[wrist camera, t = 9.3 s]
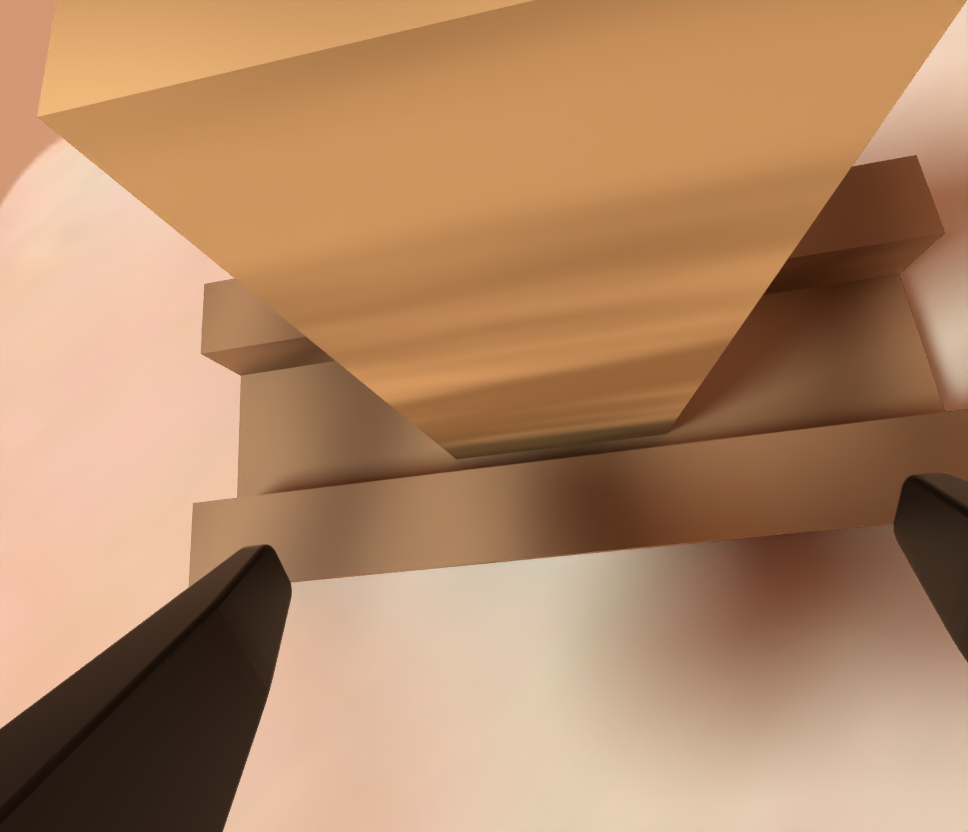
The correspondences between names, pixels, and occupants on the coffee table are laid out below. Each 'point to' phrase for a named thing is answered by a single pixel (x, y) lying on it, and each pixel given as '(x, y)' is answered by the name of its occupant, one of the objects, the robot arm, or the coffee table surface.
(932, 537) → the robot arm
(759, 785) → the coffee table surface
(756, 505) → the walnut rail
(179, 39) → the oak stave
